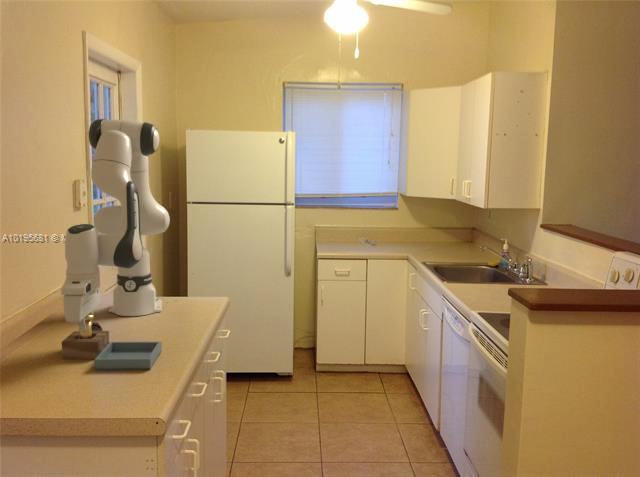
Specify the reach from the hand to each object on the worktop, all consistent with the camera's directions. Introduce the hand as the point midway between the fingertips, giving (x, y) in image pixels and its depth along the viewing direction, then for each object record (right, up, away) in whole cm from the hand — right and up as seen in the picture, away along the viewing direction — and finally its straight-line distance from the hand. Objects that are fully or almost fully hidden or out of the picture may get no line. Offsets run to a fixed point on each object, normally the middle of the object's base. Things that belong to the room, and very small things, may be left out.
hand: (85, 328), depth 166 cm
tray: (+14, -8, -5) cm, 17 cm away
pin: (0, -7, +1) cm, 7 cm away
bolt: (-2, -6, +14) cm, 15 cm away
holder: (0, -7, +1) cm, 7 cm away
